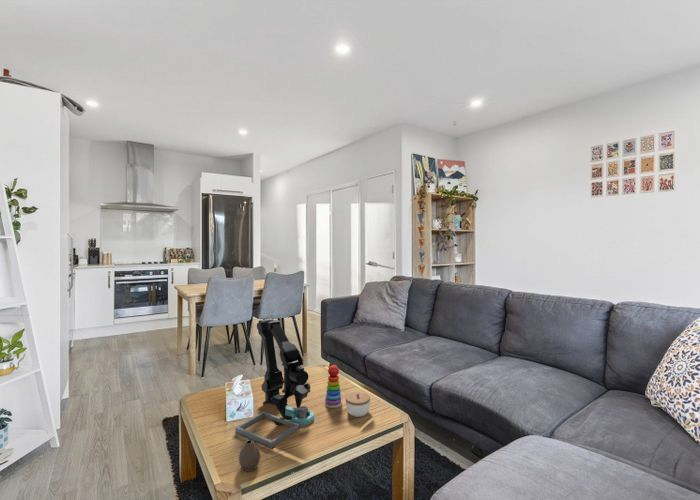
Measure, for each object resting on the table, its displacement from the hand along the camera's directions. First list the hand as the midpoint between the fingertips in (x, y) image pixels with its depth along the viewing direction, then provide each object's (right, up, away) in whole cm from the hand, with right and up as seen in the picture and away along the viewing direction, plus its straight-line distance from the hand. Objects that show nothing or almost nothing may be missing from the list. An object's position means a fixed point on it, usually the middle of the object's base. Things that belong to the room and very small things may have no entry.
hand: (291, 413), depth 148 cm
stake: (+5, -2, -4) cm, 7 cm away
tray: (-8, -2, -11) cm, 14 cm away
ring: (+4, -1, -2) cm, 4 cm away
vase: (-8, -3, -33) cm, 34 cm away
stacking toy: (+18, -2, +10) cm, 20 cm away
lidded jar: (+29, -2, +2) cm, 29 cm away
